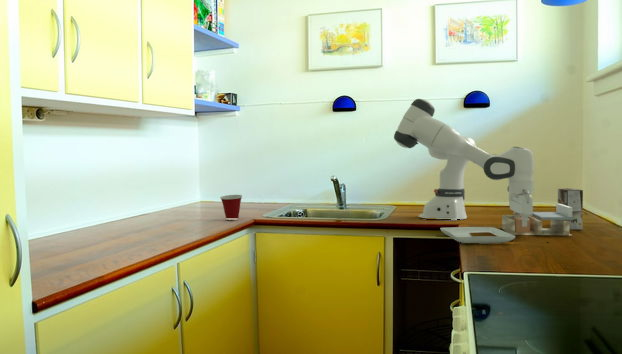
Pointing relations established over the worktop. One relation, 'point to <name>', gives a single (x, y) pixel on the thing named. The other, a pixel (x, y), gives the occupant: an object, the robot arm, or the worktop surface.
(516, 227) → the terracotta block
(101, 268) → the worktop surface
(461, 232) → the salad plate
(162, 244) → the worktop surface
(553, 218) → the sliding roof
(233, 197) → the plastic cup
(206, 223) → the worktop surface
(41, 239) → the worktop surface
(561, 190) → the coffee box
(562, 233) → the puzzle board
